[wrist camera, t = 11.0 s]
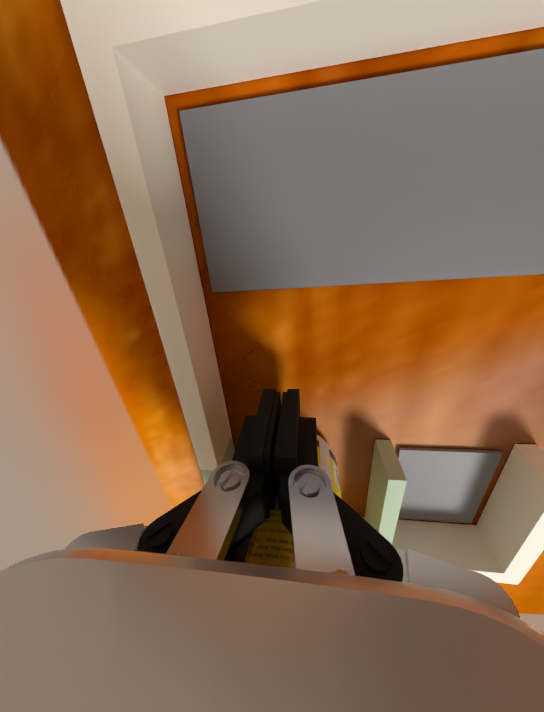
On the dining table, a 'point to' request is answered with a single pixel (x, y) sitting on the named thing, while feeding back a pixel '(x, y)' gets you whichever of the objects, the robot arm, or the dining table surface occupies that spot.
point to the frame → (331, 203)
